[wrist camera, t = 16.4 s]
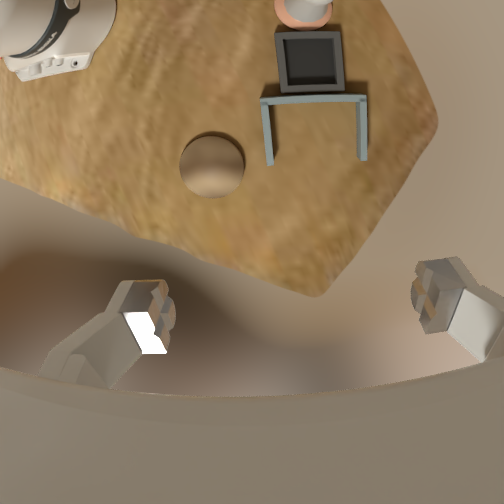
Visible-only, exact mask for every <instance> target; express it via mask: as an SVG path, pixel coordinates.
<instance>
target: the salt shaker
mask: <svg viewBox="0 0 504 504" xmlns="http://www.w3.org/2000/svg"><path fill="white" fill-rule="evenodd" d="M332 1H333V0H284V6H285V8H286V11H287V13H288V14H289V15H291V16H292V17H293V18H294V19H296V20H299V21H301V22H315V21H317V20H319V19H322V18H323V16H324V15H325V14H326V12H327V9H328V4H329V3H331V2H332Z"/></svg>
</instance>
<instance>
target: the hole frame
mask: <svg viewBox="0 0 504 504" xmlns="http://www.w3.org/2000/svg"><path fill="white" fill-rule="evenodd" d="M274 36H275V44H276V53H277V62H278V71H279V80H280V90H281V93H293V92H315V91H345V87H344V72H343V59H342V47H341V37H340V32H337V31H305V32H281V33H274Z"/></svg>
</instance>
